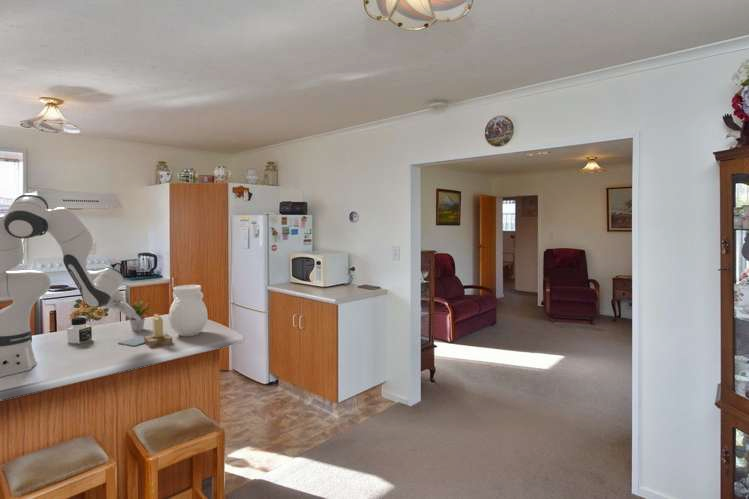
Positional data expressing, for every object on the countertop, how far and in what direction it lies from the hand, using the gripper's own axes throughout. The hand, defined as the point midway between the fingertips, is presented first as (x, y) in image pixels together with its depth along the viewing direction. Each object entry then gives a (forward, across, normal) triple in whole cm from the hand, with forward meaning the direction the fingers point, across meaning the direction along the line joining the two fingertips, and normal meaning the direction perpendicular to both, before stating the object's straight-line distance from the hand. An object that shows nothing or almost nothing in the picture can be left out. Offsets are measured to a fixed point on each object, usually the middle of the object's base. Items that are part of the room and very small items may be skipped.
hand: (137, 317), depth 199 cm
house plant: (+13, +33, +7) cm, 36 cm away
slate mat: (+10, +9, +10) cm, 17 cm away
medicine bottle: (-5, +27, +25) cm, 37 cm away
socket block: (+16, +1, +4) cm, 17 cm away
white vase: (+28, +9, -7) cm, 30 cm away
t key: (+16, +1, +4) cm, 17 cm away
